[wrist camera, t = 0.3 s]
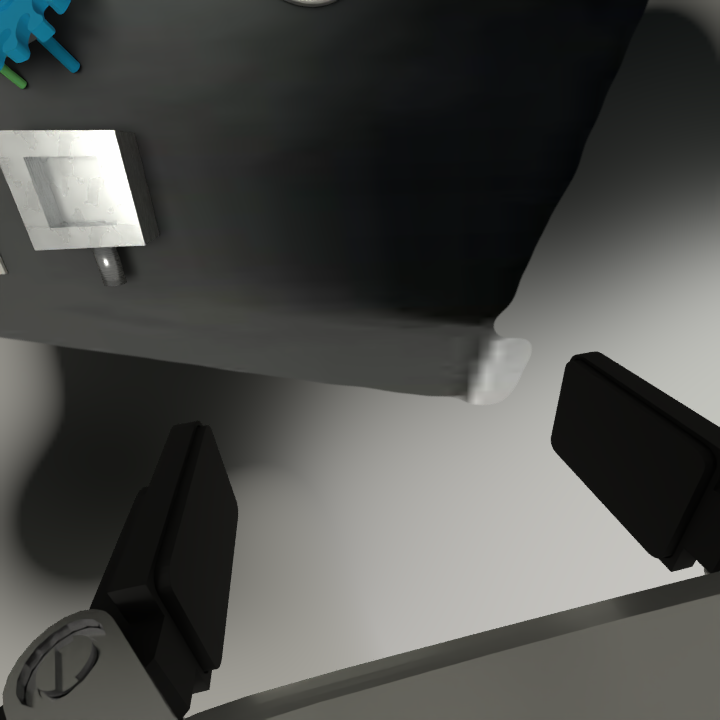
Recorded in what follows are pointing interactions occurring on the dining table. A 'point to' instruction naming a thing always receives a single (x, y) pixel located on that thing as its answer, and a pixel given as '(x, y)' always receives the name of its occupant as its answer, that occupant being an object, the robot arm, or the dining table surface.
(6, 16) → the gear
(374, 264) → the dining table surface
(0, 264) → the mat
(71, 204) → the block
